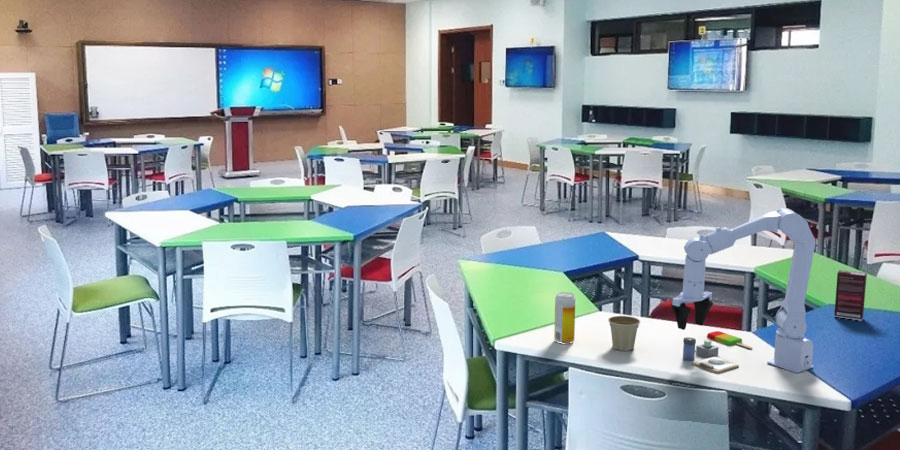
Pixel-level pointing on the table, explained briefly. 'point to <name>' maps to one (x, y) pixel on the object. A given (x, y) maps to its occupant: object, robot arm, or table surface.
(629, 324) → the flower pot
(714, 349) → the button housing
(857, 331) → the table surface
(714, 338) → the popsicle
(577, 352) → the table surface
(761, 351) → the table surface
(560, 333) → the beer can
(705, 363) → the clipboard
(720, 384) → the table surface
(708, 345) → the button
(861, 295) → the supplement box
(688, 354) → the blue small bottle
